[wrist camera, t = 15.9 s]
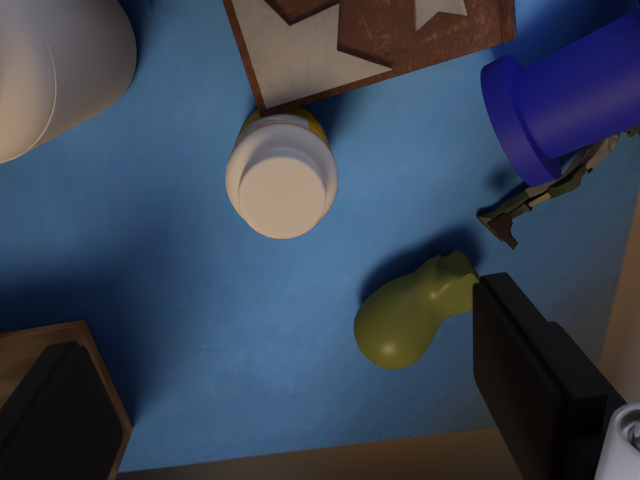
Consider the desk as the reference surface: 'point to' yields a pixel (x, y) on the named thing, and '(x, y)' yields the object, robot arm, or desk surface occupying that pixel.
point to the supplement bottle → (282, 173)
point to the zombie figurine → (549, 188)
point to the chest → (26, 346)
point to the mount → (565, 98)
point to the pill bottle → (59, 67)
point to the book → (354, 42)
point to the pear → (413, 310)
